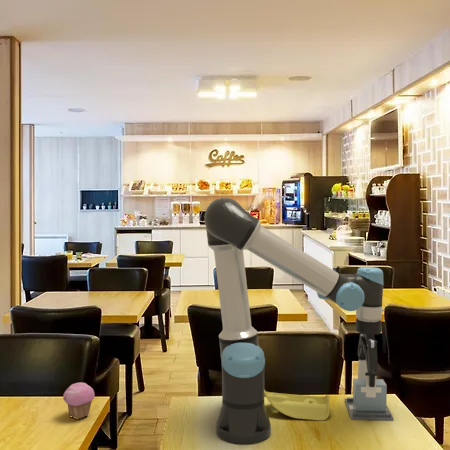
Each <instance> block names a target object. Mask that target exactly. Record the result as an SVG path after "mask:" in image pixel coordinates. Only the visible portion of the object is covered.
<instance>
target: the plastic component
mask: <svg viewBox="0 0 450 450" xmlns="http://www.w3.org/2000/svg"><path fill="white" fill-rule="evenodd" d="M264 398H266V399H267V401H268V403H270V411H272V412H280V413H281V414H283V415H285V416H287V417H291V418H293V419H300V420H309V421H325V420H327V419H328V418H329V416H330V412H331V410H330V395H329V394H328V395H324V396H314V395H313V396H312V395H303V394H301V395H300V394H292V393H291V394H289V393H282V392H281V393H280V392H279V393H278V392H273V391H272V392H270V391H266V389H264Z"/></svg>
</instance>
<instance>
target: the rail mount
mask: <svg viewBox="0 0 450 450" xmlns="http://www.w3.org/2000/svg"><path fill="white" fill-rule="evenodd" d="M344 403H345V406H346V408H347V411H348V414H349V417H350V419H351V420H352V421H353V420H354V421H355V420H357V421H383V422H384V421H389V422H394V418H395V417H394V416H393V414H392V413H391V410H390V409H389V407H388V405H387V404H386V411H356V410H355V408H354V405H353V397H346V398H344Z"/></svg>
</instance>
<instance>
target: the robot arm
mask: <svg viewBox="0 0 450 450" xmlns="http://www.w3.org/2000/svg"><path fill="white" fill-rule="evenodd" d="M204 226H205V230H206V239H207V246H208V247H209V248H210V249H211V250H212V251H213V253H214V254H213V255H214V261H215V271H216V272H215V273H216V278H217V279H216V280H217V289H218V295H219V297H218V298H219V303H220V304H219V306H220V313H221V314H220V315H221V322H222V330H221V332H220V333H219V334H218V341H219V348H220V360H221V384H222V385H221V390H222V391H221V397H222V401H221V402H222V403H221V407H220V411H219V413H218V417H217V420H216V425H215V426H216V427H215V430H216V431H215V432H216V435H217V437H218V438H219V439H221V440H224V441H225V442H228V443H233V444H240V445H249V444H251V445H252V444H256V443H259V442H263V441H264V440H267V439H268V438H269V437H270V436H271V434H272V433H271V432H272V425H271V421H270V418H269V417H270V416H269V415H268V411H267V408H266V404H265V397H264V390H265V365H266V358H265V353H264V351H263V348H261V347H260V344H259V337H258V331H257V329H255V328H254V327H253V326H252V317H251V312H250V311H251V309H250V301H249V293H248V291H249V290H248V285H247V282H248V281H247V275H246V265H245V257H244V251H245V250H247V251H249V252H250V253H252V254H254V255H256V256H257V257H259V258H260V259H263V260H264V261H265V262H267V263H268V264H270V265H271V266H274V267H275V268H277V269H278V270H280V271H282V272H283V273H284V274H286V275H288V276H290V277H291V278H293V279H295V280H297V281H298V282H299V283H302V284H303V285H305V286H306V287H308V288H309V289H311V290H313V291H315V292H316V293H317V297H318V298H319V299H322V300H326V301H330V302H332V303H334V304H336V305H337V306H338V307H339V308H340V309H342V310H344V311H347V312H355V317H356V319H355V331H356V332H357V333H359V340H358V346H357V353H356V355H357V356H358V365H357V367H358V368H357V369H358V370H357V379H366V397H374V398H376V379H377V377H379V363H378V361H379V360H378V341H377V340H376V338H375V335H379V334H381V333H382V328H383V327H382V326H383V325H382V323H383V322H382V317H383V312H385V309H384V308H383V295H384V285H385V283H384V272H383V270H382V269H381V268H379V267H374V266H373V267H371V266H364V267H363V266H360V267H358V268H357V272H356V273H354V274H353V273H352V274H351V273H350V274H349V273H348V274H345V273H339V272H337V271H335V270H334V269H332V268H331V267H329V266H328V265H325V264H324V263H322V262H321V261H320V260H317V259H316V258H314V257H313V256H311V255H309V253H306V252H305V251H304V250H302V249H300V248H298V247H296V246H295V245H293V244H291V243H290V242H288V241H287V240H285V239H284V238H282V237H280V235H278V234H276V233H274V232H272V231H270V230H269V229H267V228H266V227H264V226H262V224H261V220H259V219H258V218H256V217H254V215H252V214H251V213H249V212H248V210H246V209H245V208H244V207H243V206H242V205H241V204H240V203H239V202H237V200H235V199H233V198H231V197H221V198H216V199H215V200H212V202H210V203H209V205H208V206H207V207H206V210H205V212H204Z"/></svg>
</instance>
